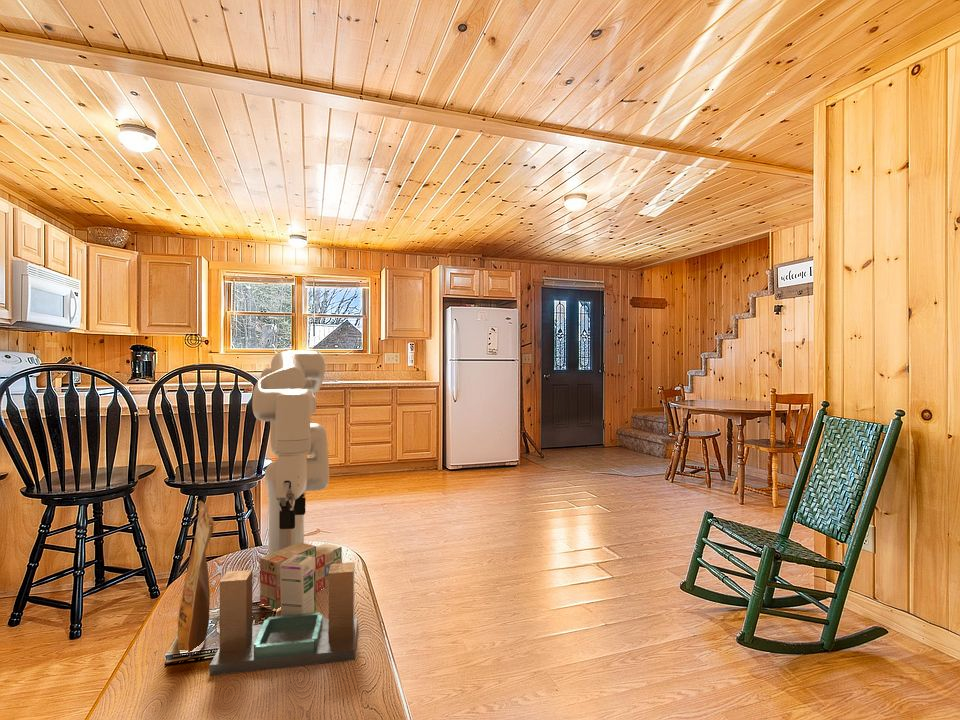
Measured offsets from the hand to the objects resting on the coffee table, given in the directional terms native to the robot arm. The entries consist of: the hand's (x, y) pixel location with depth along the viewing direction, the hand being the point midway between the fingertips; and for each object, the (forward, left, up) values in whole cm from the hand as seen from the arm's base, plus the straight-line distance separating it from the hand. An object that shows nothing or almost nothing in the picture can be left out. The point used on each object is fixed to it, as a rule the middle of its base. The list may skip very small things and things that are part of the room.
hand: (292, 521), depth 116 cm
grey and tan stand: (+9, +1, -24) cm, 26 cm away
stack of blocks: (-17, 0, -24) cm, 29 cm away
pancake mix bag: (+2, -20, -24) cm, 31 cm away
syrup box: (-2, +1, -24) cm, 24 cm away
